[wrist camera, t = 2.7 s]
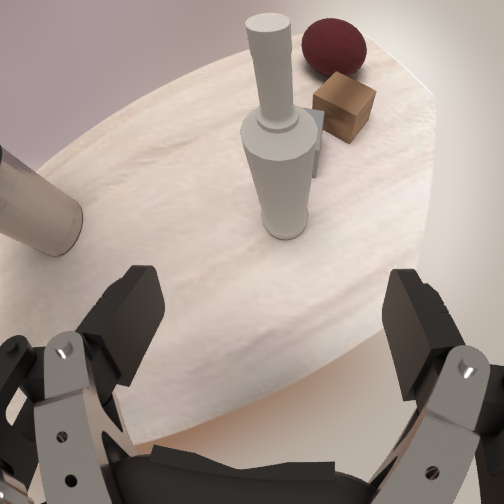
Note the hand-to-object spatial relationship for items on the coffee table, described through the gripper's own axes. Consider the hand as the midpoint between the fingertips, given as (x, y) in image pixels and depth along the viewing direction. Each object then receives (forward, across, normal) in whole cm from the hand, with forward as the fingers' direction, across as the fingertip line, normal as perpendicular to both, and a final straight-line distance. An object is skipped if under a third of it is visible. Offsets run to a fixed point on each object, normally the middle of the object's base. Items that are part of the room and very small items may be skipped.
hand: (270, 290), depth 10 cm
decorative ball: (+43, -8, -11) cm, 45 cm away
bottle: (+24, 0, +8) cm, 25 cm away
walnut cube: (+35, -8, -3) cm, 36 cm away
